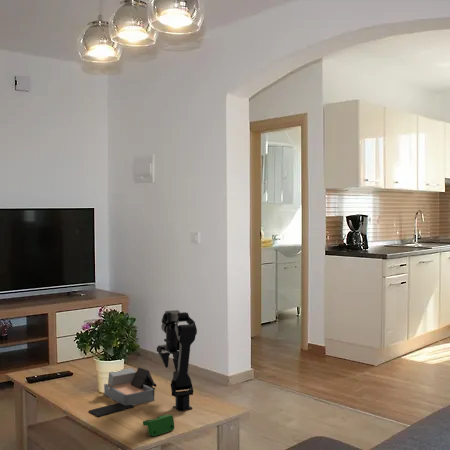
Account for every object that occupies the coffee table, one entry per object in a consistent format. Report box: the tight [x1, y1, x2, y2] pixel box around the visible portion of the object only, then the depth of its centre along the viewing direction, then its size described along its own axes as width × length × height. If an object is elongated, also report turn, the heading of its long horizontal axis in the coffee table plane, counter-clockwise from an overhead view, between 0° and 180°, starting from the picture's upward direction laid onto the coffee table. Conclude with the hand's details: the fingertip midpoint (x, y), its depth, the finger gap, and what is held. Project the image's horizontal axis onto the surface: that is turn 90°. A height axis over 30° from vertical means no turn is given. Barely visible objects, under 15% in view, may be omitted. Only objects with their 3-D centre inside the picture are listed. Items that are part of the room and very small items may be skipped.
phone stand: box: [130, 366, 157, 391], centre depth 274 cm, size 9×6×12 cm
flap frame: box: [103, 383, 155, 406], centre depth 265 cm, size 21×16×5 cm
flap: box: [107, 367, 144, 395], centre depth 265 cm, size 19×12×10 cm, turn 37°
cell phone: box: [88, 402, 135, 418], centre depth 249 cm, size 9×18×1 cm, turn 132°
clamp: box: [142, 414, 175, 437], centre depth 225 cm, size 12×6×9 cm, turn 128°
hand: (171, 369), depth 268 cm, fingers open, 9 cm apart
